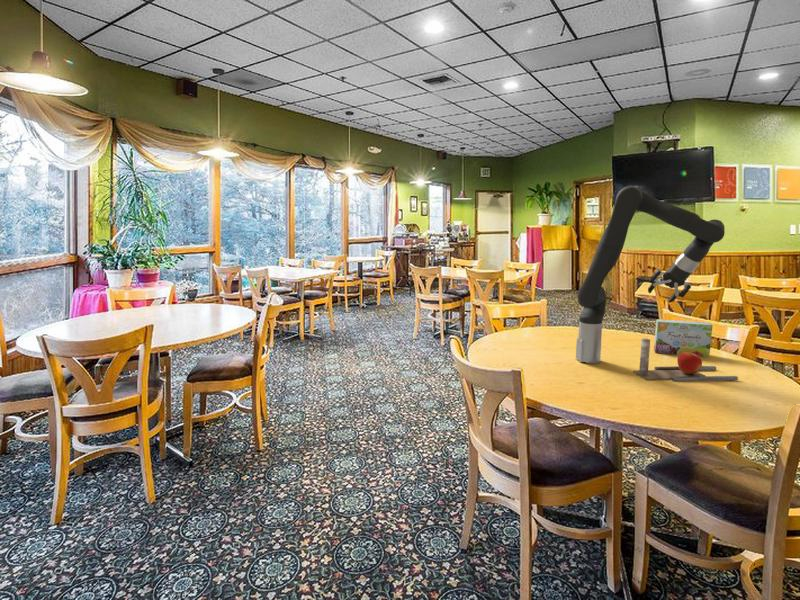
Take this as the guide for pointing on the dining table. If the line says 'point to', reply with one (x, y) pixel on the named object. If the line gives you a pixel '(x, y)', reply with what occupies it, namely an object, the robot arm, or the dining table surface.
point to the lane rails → (699, 378)
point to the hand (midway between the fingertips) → (658, 296)
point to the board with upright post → (656, 374)
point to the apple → (689, 363)
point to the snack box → (683, 337)
